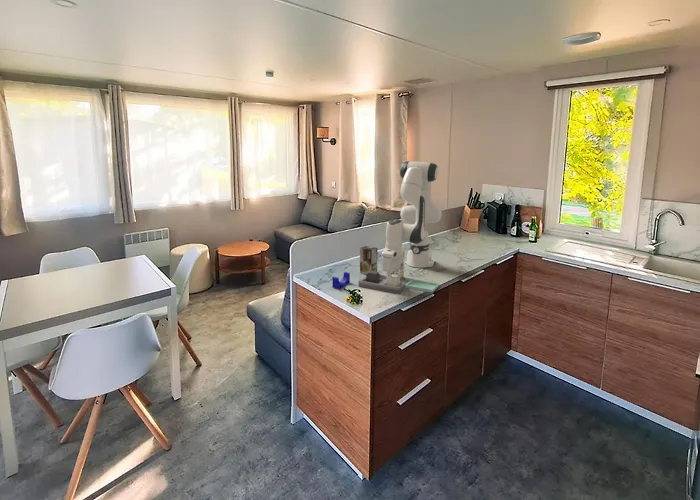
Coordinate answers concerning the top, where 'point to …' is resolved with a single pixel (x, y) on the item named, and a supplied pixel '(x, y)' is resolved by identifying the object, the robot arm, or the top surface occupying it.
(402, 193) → the robot arm
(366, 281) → the grey compartment holder
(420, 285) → the tray
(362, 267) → the coffee box
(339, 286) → the cable clip
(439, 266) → the top surface
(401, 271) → the juice carton
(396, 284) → the plug
